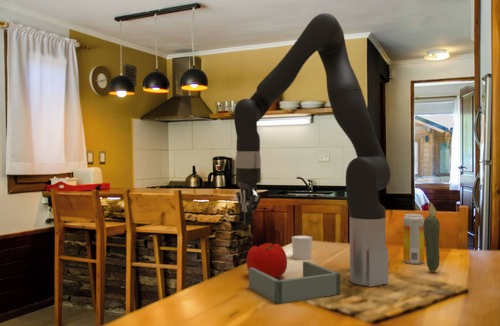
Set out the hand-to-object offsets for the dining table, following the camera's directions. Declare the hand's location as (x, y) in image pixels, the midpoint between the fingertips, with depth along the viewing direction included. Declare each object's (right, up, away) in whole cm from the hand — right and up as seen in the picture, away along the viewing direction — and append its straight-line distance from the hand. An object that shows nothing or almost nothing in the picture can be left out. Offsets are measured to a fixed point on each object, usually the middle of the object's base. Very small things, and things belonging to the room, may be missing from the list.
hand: (247, 224), depth 142 cm
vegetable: (+53, -13, -6) cm, 55 cm away
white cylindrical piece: (+18, -13, +14) cm, 26 cm away
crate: (+12, -13, -25) cm, 30 cm away
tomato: (+5, -14, -11) cm, 18 cm away
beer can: (+52, -13, +7) cm, 54 cm away
